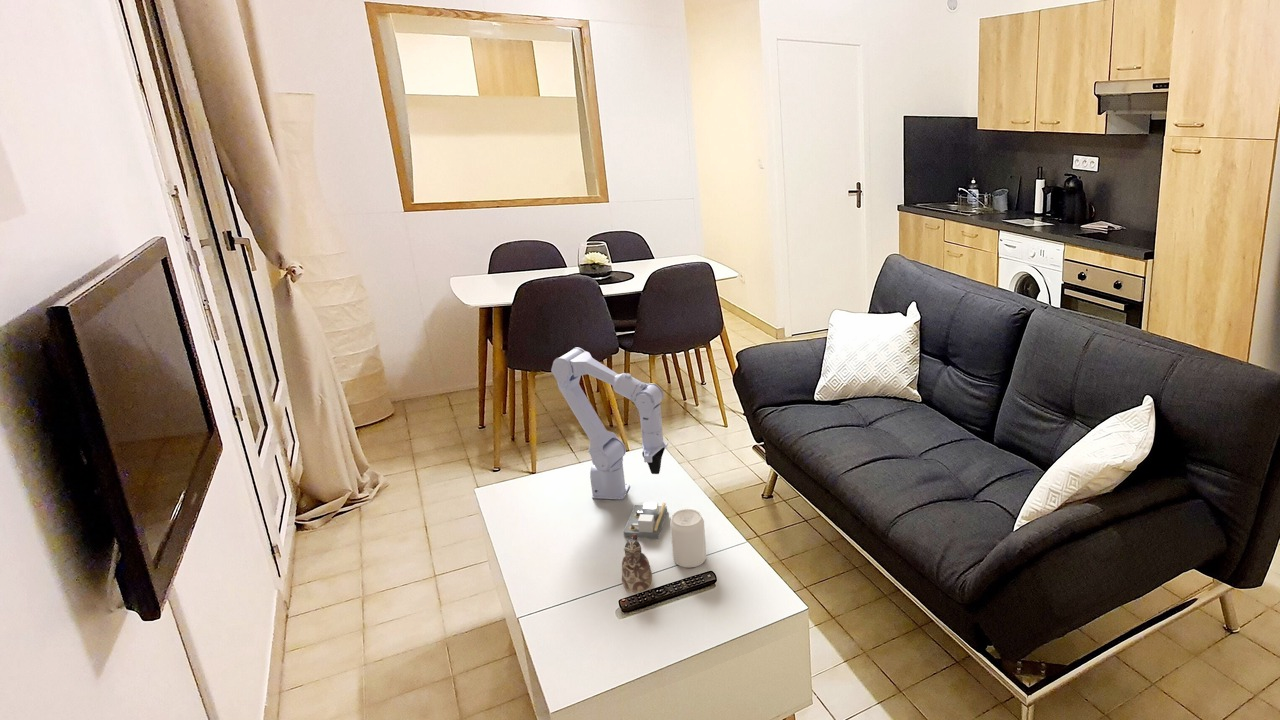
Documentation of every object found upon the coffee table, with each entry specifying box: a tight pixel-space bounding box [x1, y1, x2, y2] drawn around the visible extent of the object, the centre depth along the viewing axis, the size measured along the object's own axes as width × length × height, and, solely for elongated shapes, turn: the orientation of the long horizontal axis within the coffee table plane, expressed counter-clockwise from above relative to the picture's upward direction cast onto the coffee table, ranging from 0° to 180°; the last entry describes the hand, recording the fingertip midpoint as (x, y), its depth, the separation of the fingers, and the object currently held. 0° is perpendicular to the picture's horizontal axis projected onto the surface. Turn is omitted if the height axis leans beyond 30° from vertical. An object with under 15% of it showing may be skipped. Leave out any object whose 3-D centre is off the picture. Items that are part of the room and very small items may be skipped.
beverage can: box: [669, 508, 707, 568], centre depth 168 cm, size 8×8×12 cm
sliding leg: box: [636, 501, 659, 519], centre depth 186 cm, size 6×3×3 cm, turn 77°
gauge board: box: [623, 502, 668, 540], centre depth 185 cm, size 9×13×5 cm
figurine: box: [621, 534, 653, 594], centre depth 162 cm, size 7×7×12 cm
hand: (655, 472), depth 193 cm, fingers closed
